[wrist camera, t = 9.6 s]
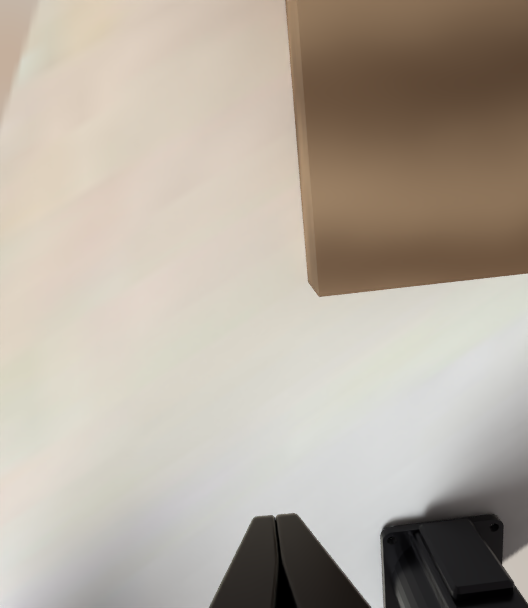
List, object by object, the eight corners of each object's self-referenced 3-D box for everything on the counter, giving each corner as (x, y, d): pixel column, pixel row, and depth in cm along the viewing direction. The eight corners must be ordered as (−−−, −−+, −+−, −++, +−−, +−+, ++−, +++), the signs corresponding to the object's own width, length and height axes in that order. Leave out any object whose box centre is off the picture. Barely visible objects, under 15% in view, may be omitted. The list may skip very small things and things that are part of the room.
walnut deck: (562, 253, 21) (614, 263, 18) (308, 282, 21) (319, 296, 18) (585, -103, 17) (653, -162, 15) (279, -75, 17) (287, -129, 14)
